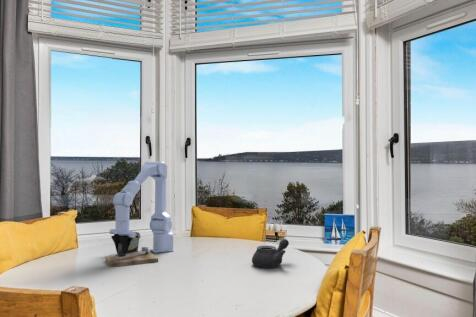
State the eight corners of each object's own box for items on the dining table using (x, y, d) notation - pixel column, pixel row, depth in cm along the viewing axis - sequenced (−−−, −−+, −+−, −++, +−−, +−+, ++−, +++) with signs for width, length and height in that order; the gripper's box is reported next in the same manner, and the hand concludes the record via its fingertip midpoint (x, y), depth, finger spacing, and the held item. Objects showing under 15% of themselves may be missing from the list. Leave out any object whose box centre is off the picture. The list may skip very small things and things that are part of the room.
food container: (144, 252, 184) (144, 231, 184) (139, 255, 178) (140, 234, 178) (119, 251, 185) (119, 231, 185) (114, 254, 179) (114, 233, 179)
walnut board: (150, 255, 178) (151, 252, 178) (158, 261, 167) (158, 258, 167) (105, 260, 169) (105, 257, 169) (110, 267, 158) (110, 263, 158)
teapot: (276, 272, 153) (276, 247, 153) (245, 265, 162) (246, 241, 163) (300, 263, 167) (300, 240, 167) (271, 257, 177) (271, 235, 177)
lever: (145, 251, 178) (145, 237, 178) (150, 252, 176) (150, 237, 176) (115, 258, 164) (115, 242, 164) (120, 260, 162) (120, 243, 162)
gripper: (103, 220, 166) (103, 251, 166) (126, 223, 158) (125, 256, 157) (117, 218, 172) (116, 248, 171) (139, 221, 164) (139, 253, 163)
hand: (122, 252), depth 165 cm, fingers closed on lever, 3 cm apart
